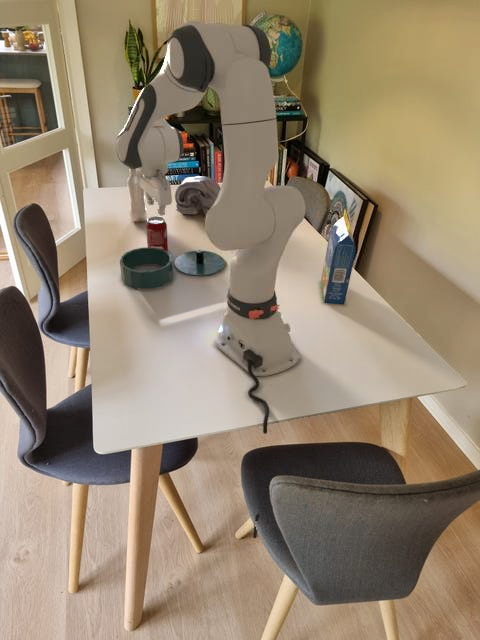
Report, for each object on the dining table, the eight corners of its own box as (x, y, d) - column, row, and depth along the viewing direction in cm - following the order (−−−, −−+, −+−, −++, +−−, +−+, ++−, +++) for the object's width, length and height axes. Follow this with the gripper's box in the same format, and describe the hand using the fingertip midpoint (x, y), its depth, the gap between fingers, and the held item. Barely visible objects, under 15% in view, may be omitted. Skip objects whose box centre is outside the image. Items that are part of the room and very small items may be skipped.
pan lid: (234, 271, 146) (234, 257, 143) (187, 282, 139) (186, 268, 136) (211, 249, 157) (211, 236, 154) (166, 259, 150) (166, 245, 147)
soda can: (164, 258, 150) (162, 225, 143) (145, 255, 151) (142, 222, 144) (170, 249, 156) (169, 217, 149) (152, 246, 157) (149, 214, 149)
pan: (180, 283, 138) (180, 265, 134) (131, 295, 131) (129, 276, 128) (161, 261, 149) (160, 243, 145) (115, 271, 142) (113, 253, 138)
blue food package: (340, 284, 142) (355, 209, 127) (344, 305, 132) (362, 226, 118) (320, 282, 142) (333, 207, 128) (323, 303, 133) (338, 225, 118)
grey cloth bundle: (226, 210, 189) (225, 174, 183) (221, 219, 173) (221, 179, 167) (179, 210, 190) (177, 173, 184) (170, 218, 174) (168, 178, 168)
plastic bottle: (129, 217, 176) (123, 166, 164) (146, 216, 177) (142, 165, 166) (131, 224, 171) (125, 171, 159) (149, 222, 173) (144, 170, 161)
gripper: (175, 174, 130) (178, 219, 138) (150, 156, 145) (154, 197, 153) (155, 177, 128) (158, 222, 136) (132, 158, 142) (136, 200, 150)
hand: (156, 209), depth 144 cm, fingers open, 8 cm apart
